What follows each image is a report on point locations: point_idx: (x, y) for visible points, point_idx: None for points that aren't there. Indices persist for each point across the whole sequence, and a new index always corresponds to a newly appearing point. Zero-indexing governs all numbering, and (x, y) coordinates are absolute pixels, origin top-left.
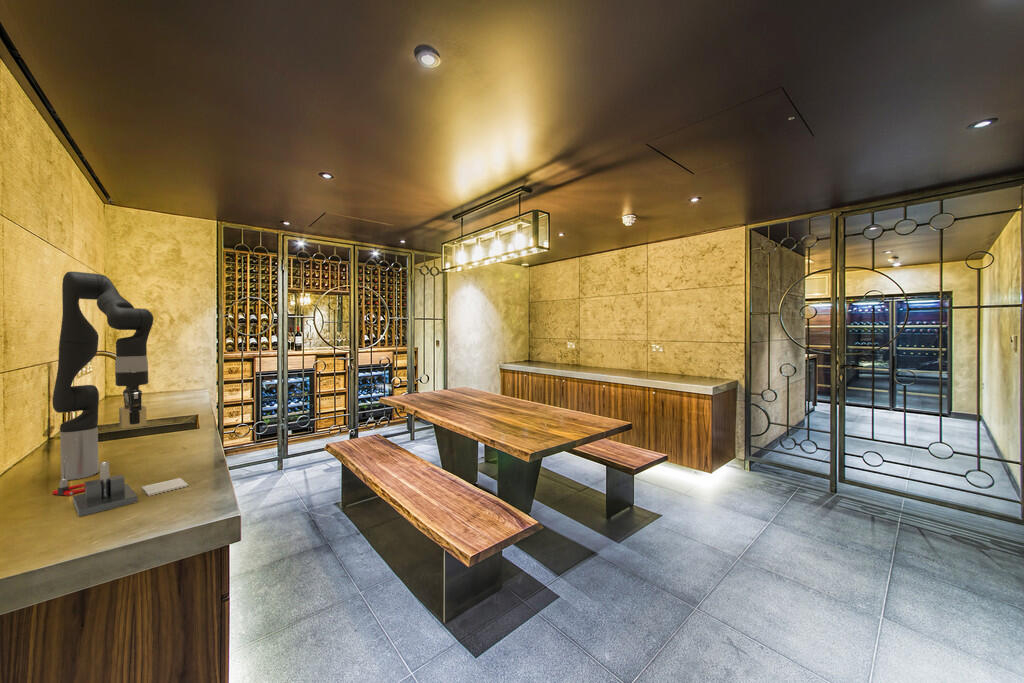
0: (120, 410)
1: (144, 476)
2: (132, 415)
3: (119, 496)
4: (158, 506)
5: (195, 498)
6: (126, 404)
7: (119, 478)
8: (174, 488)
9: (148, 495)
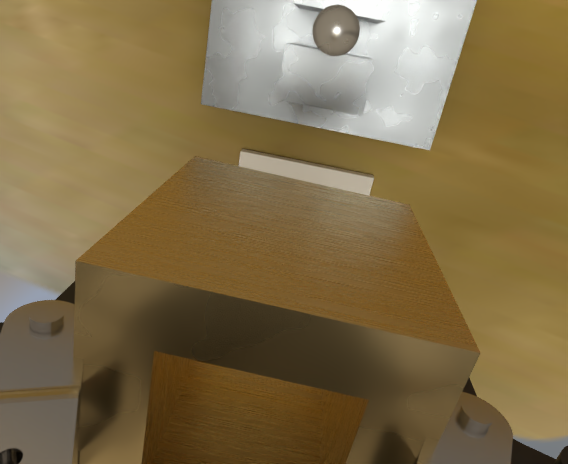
0: (258, 279)
1: (556, 252)
2: (60, 297)
3: (262, 63)
4: (87, 120)
5: (65, 217)
6: (38, 400)
7: (286, 81)
8: None
9: (241, 150)
